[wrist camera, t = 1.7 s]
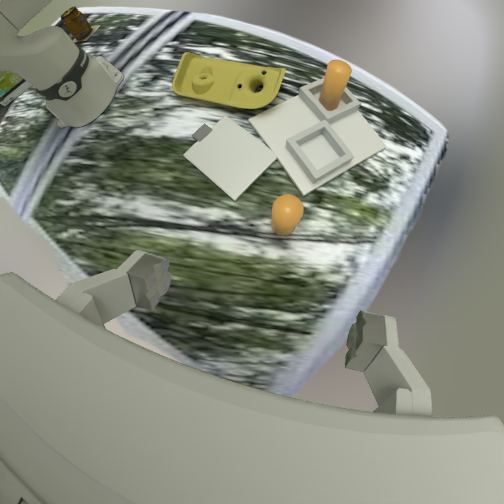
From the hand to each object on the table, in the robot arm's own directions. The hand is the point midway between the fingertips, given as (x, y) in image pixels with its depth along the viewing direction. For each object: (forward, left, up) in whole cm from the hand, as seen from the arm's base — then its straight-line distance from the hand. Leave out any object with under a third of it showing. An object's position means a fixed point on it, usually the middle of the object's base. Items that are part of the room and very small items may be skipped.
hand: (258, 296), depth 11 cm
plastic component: (-32, +13, -31) cm, 46 cm away
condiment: (-88, -7, -30) cm, 93 cm away
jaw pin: (-6, +7, -30) cm, 31 cm away
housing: (-16, +21, -30) cm, 40 cm away
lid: (-20, +6, -30) cm, 36 cm away
